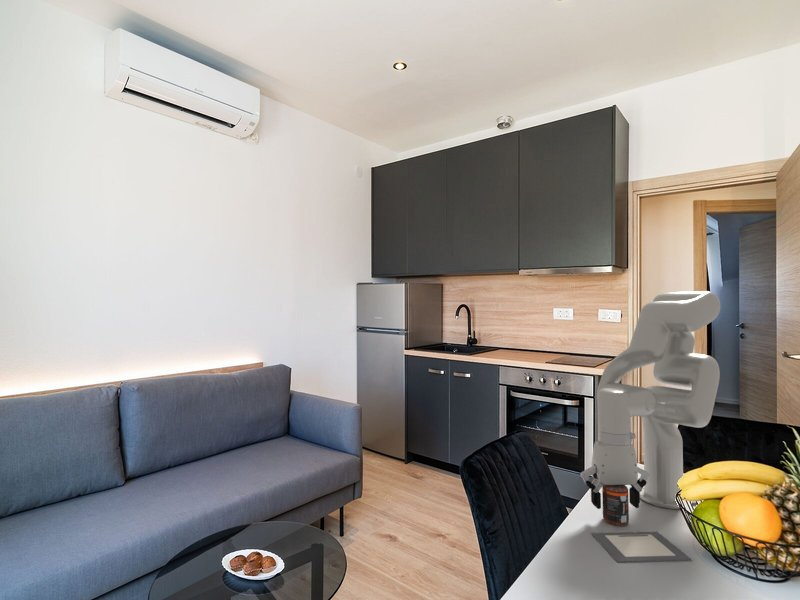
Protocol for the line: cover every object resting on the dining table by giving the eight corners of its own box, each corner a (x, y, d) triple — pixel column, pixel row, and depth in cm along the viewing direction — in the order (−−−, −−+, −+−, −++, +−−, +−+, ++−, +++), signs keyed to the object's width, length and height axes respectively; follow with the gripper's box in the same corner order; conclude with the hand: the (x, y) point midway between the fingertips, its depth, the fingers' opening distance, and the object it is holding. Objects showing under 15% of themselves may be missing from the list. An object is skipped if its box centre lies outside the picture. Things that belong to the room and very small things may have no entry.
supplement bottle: (632, 528, 109) (631, 481, 109) (606, 526, 110) (605, 480, 110) (625, 517, 115) (624, 472, 115) (600, 515, 116) (599, 471, 116)
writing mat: (657, 532, 107) (657, 530, 107) (691, 560, 95) (691, 558, 95) (591, 534, 106) (591, 532, 106) (617, 562, 94) (617, 560, 94)
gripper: (639, 433, 117) (640, 499, 117) (574, 434, 117) (575, 500, 116) (656, 441, 110) (658, 512, 109) (587, 443, 109) (588, 513, 109)
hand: (615, 506), depth 113 cm, fingers open, 9 cm apart
